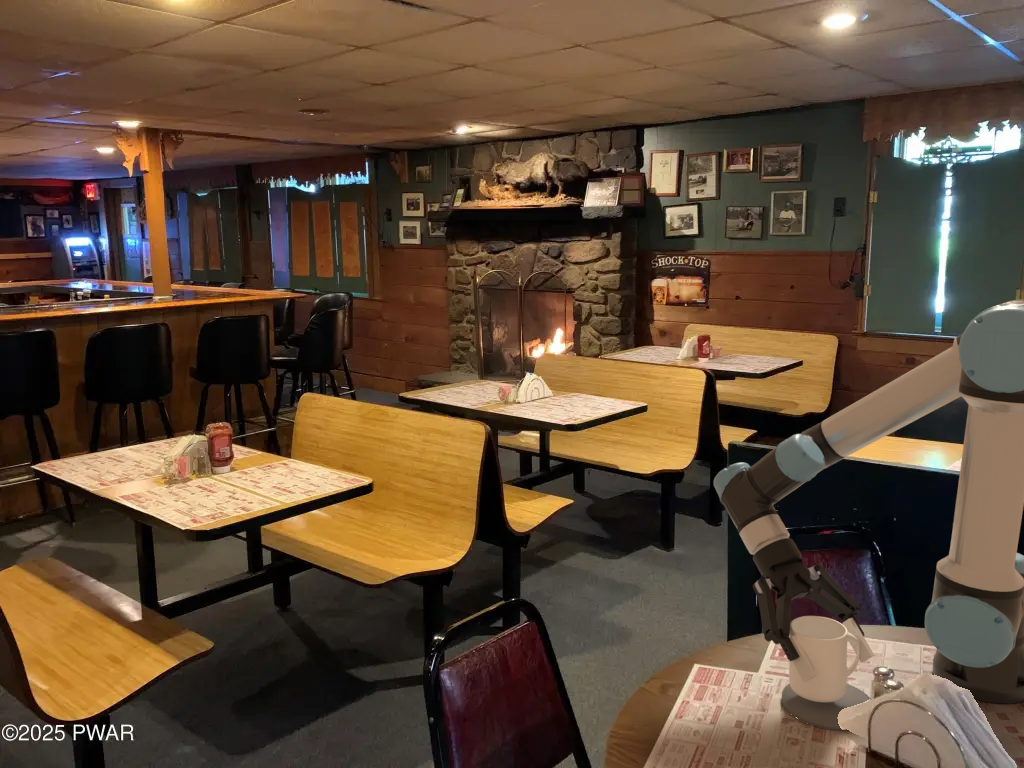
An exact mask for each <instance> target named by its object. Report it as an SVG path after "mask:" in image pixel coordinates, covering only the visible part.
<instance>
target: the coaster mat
mask: <svg viewBox="0 0 1024 768" xmlns="http://www.w3.org/2000/svg"><path fill="white" fill-rule="evenodd" d="M869 699H871V700H872V698H871V697H870V696H869V695H868V694H867V693H865V692H864V691H863V690H861V689H859V688H857V687H856V686H853V685H851V684H849V683H847V682H846V690H845V694H844V695H843V697H842V698H840V699H839V700H837V701H833V702H815V701H811V700H807V699H805V698H803V697H801V696H799V695H797V694H796V693H795V692H794V691H793V690H792V688H791V686H790V682H789V683H788V684H786V686H784V688H783V689H782V692H781V703H783V704H782V706H783V705H784V706H783V708H784V707H785V708H784V709H785V711H786V710H787V711H788V712H789V713H790V714H789V713H788V712H787V711H786V712H787V713H788V714H789V715H791V714H792V715H793V716H794V717H793V716H792V715H791V716H792V717H793V718H795V717H797V718H798V719H799V720H798V719H797V720H798V721H800V720H801V721H800V722H802V721H803V722H802V723H804V722H805V723H804V724H806V723H808V724H807V725H809V724H810V725H809V726H811V725H813V726H812V727H815V726H817V727H816V728H818V727H820V728H819V729H822V728H824V729H823V730H828V729H829V730H831V731H840V732H841V731H842V729H841V728H840V726H839V724H838V719H837V717H838V714H839V712H840V711H841V710H842V709H844V708H847V707H851V706H854V705H857V704H860V703H863V702H865V701H867V700H869ZM829 730H828V731H829ZM842 732H843V731H842Z"/></svg>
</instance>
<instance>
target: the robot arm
mask: <svg viewBox="0 0 1024 768" xmlns="http://www.w3.org/2000/svg"><path fill="white" fill-rule="evenodd" d="M953 339H954V340H953V344H952V346H950V347H948V348H947V349H946V350H944V351H942V352H940V353H939V354H936V355H935V356H934V357H932V358H929V360H927V361H925V362H923V363H922V364H921V363H920V365H918V366H915V368H913V369H911V370H909V371H908V372H905V373H904V374H902V375H900V376H899V377H897V378H895V379H894V380H892V381H890V382H888V383H886V384H884V385H883V386H881V387H879V388H878V389H876V390H875V391H872V392H871V393H869V394H868V395H866V396H864V397H862V398H861V399H859V400H857V401H856V402H854V403H852V404H850V405H848V406H846V407H845V408H843V409H841V410H839V411H838V412H836V413H834V414H832V415H830V416H829V417H826V419H824V420H822V421H821V422H819V423H817V424H815V425H813V426H812V427H809V428H808V429H805V430H804V431H802V432H800V433H796V434H795V433H794V434H793V435H791V436H790V437H788V438H786V439H784V440H783V441H781V442H780V443H778V444H777V446H776V447H775V448H774V449H772V450H771V451H769V452H768V453H767V454H765V455H764V456H763V457H762V458H760V460H758V461H757V462H756V463H754V464H753V465H750V464H749V463H747V462H743V461H742V462H741V461H740V462H736V463H733V464H729V466H728V467H725V468H723V469H722V470H720V471H719V472H718V473H717V474H716V475H715V477H714V479H713V487H714V488H715V489H714V490H715V491H716V493H717V495H718V498H719V502H720V503H721V505H722V506H723V507H724V508H725V511H726V512H727V514H728V515H729V517H730V519H731V520H732V522H733V524H734V527H735V528H736V530H737V532H738V534H739V536H740V538H741V541H742V542H743V544H744V546H745V548H746V550H747V551H748V553H749V554H750V555H753V556H752V560H753V562H754V564H755V565H756V566H755V567H757V570H758V572H759V573H760V575H761V576H763V577H760V578H759V579H757V581H756V582H755V583H753V584H752V589H753V591H754V593H755V594H756V597H757V601H758V607H759V613H760V614H759V615H760V621H761V625H762V632H763V637H764V640H765V641H766V642H771V641H772V643H773V644H774V645H780V647H781V649H782V650H783V652H784V655H785V657H786V658H787V660H788V661H793V663H794V665H795V667H796V669H797V671H798V673H799V674H800V676H801V678H802V680H803V682H806V681H808V680H810V679H811V678H813V677H815V676H816V675H817V674H816V673H815V671H814V669H813V667H812V665H811V663H810V662H809V660H808V658H807V656H806V654H805V652H804V651H803V649H802V647H801V645H800V643H799V642H798V640H797V638H796V636H795V635H794V636H791V637H790V623H791V614H792V613H791V611H792V610H791V609H792V601H793V600H794V599H802V598H803V597H804V598H805V599H807V600H811V601H813V602H814V603H816V604H817V605H818V606H820V607H821V608H823V609H824V610H825V611H827V612H828V613H830V614H831V615H832V616H834V617H835V618H837V619H838V620H839V621H841V622H842V623H841V624H843V625H844V626H845V627H846V629H847V632H849V633H851V634H852V635H854V636H855V637H856V638H857V640H858V642H859V645H860V657H859V661H860V663H863V662H866V661H868V660H869V659H871V658H873V657H874V656H875V654H874V651H873V650H872V648H871V647H870V645H869V643H868V642H867V640H866V638H865V635H866V634H865V633H864V630H863V629H862V627H861V625H860V624H859V622H858V621H857V619H856V616H857V615H858V614H859V612H860V611H861V608H862V607H861V606H860V605H859V604H858V603H857V602H856V601H855V600H854V599H853V598H852V596H850V594H848V593H847V592H846V591H845V590H844V589H843V588H842V587H841V586H840V585H839V584H838V583H837V582H836V581H835V580H834V579H833V578H831V576H829V574H828V573H827V572H826V570H825V568H824V566H823V565H822V564H821V563H819V562H817V563H815V564H814V565H813V566H811V567H807V566H806V565H805V564H804V563H803V559H802V553H801V552H800V549H799V548H798V546H797V544H796V543H795V542H794V540H793V539H792V538H790V536H791V534H790V533H789V531H788V529H787V528H786V526H785V524H784V522H783V521H782V519H781V517H780V516H779V514H778V512H777V510H776V508H775V507H774V505H775V504H776V503H778V502H780V501H781V500H782V499H783V498H785V497H786V496H788V495H789V494H791V493H792V492H794V491H795V490H797V489H799V487H801V486H802V485H803V484H805V483H806V482H809V481H812V479H813V478H815V477H816V476H817V474H818V473H820V472H821V471H824V469H828V468H829V467H831V466H832V465H834V464H837V463H838V462H840V461H842V460H844V459H845V458H846V457H848V456H850V455H852V454H854V453H856V452H858V451H860V450H863V448H866V447H867V446H869V445H871V444H873V443H875V442H877V441H878V440H881V439H883V438H884V437H886V436H888V435H890V434H893V433H894V432H896V431H897V430H900V429H902V428H904V427H906V426H907V425H909V424H911V423H913V422H915V421H917V420H919V419H920V418H922V417H925V416H926V415H928V414H930V413H932V412H934V411H936V410H938V409H940V408H941V407H944V406H946V405H947V404H950V403H951V402H953V401H955V400H957V399H959V398H960V397H962V399H964V401H965V402H966V403H967V405H968V408H967V415H966V421H965V422H966V423H965V424H966V425H965V430H964V437H963V439H964V440H963V446H962V455H961V461H960V471H959V478H958V485H957V486H958V487H957V493H956V499H955V507H954V515H953V522H952V533H951V540H950V547H949V552H948V555H947V556H945V557H943V558H941V559H940V560H938V561H937V562H936V566H935V567H936V569H935V573H934V574H935V576H934V583H933V591H932V598H931V602H930V604H928V606H927V608H926V610H925V614H924V629H925V632H926V635H927V638H928V639H929V641H930V643H931V644H932V645H933V646H934V647H935V649H936V651H935V653H934V655H933V659H932V674H935V675H937V676H940V677H942V678H946V679H948V680H950V681H952V682H953V683H954V684H956V685H957V686H959V687H962V688H965V689H968V690H970V692H971V693H972V695H973V696H974V698H975V699H974V700H977V701H982V702H987V703H994V704H995V703H996V704H1017V703H1023V702H1024V555H1023V554H1021V553H1019V552H1018V544H1019V539H1020V533H1021V526H1022V519H1023V511H1024V299H1013V300H1008V301H1005V302H1002V303H999V304H996V305H993V306H992V307H988V308H986V309H984V310H983V311H981V312H979V313H978V314H977V315H976V316H974V317H973V318H972V319H971V320H970V321H969V322H968V324H967V326H966V327H965V328H964V330H963V332H962V333H961V334H959V335H957V336H956V337H954V338H953ZM764 577H765V578H764ZM772 591H774V592H775V598H773V593H772ZM774 599H775V600H774ZM774 603H775V604H774ZM775 605H776V606H775ZM775 607H776V609H775ZM849 644H850V646H851V647H852V649H853V651H854V652H855V655H857V648H856V646H855V645H854V643H852V642H849Z"/></svg>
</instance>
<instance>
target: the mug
mask: <svg viewBox="0 0 1024 768" xmlns="http://www.w3.org/2000/svg"><path fill="white" fill-rule="evenodd" d="M794 635H795V636H796V638H797V640H798V642H799V643H800V645H801V647H802V649H803V651H804V652H805V654H806V656H807V658H808V660H809V662H810V663H811V665H812V667H813V669H814V671H815V673H816V674H817V675H816V676H815V677H813V678H811V679H810V680H808V681H806V682H803V680H802V678H801V676H800V674H799V673H798V671H797V669H796V667H795V665H794V663H793V661H789V660H788V661H789V662H788V663H789V665H788V666H789V668H788V669H789V670H788V671H789V672H788V677H789V678H788V681H789V683H790V686H791V688H792V690H793V691H794V692H795V693H796V694H797V695H799V696H801V697H803V698H805V699H807V700H811V701H815V702H833V701H837V700H839V699H840V698H842V697H843V695H844V694H845V690H846V683H847V678H848V677H849V676H851V675H852V674H853V673H854V672H855V671H856V669H857V667H858V664H859V661H860V660H859V657H860V645H859V642H858V640H857V638H856V637H855V636H854V635H852V634H851V633H849V632H847V629H846V627H845V626H844V625H843V624H842V623H841V622H839V621H837V620H836V619H832V618H830V617H825V616H819V615H818V616H817V615H803V616H799V617H796V618H793V620H790V636H789V637H791V636H794ZM850 642H852V643H854V645H855V646H856V648H857V654H856V657H855V659H854V661H853V662H852V663H851V664H850V665H848V666H847V663H848V661H847V660H848V643H850Z"/></svg>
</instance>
